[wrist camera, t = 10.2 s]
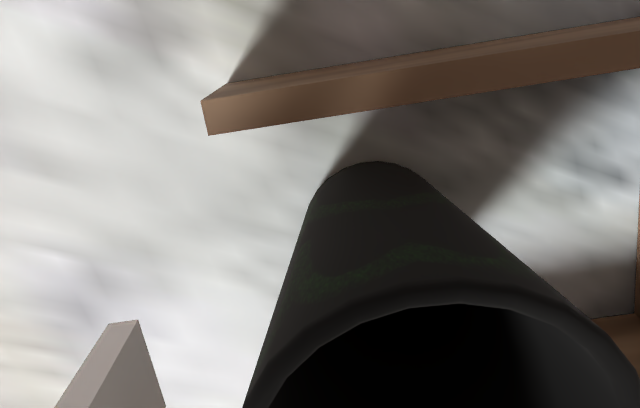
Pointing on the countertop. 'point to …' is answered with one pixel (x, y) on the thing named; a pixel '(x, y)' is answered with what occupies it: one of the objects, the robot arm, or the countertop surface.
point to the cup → (423, 313)
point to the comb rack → (440, 95)
